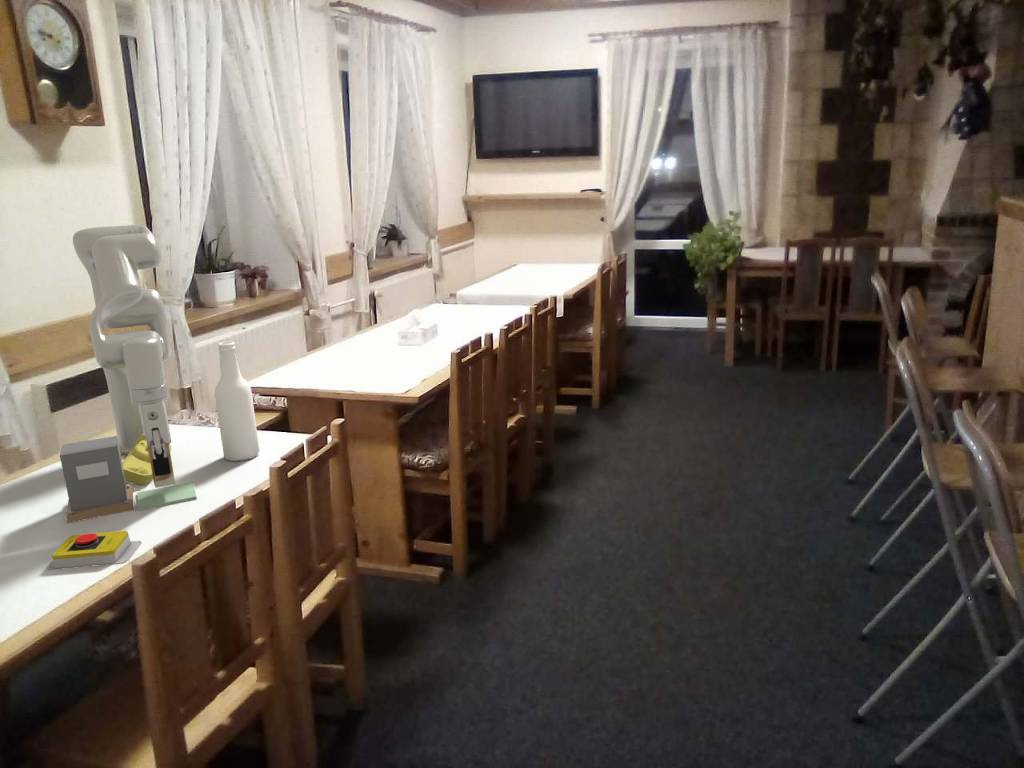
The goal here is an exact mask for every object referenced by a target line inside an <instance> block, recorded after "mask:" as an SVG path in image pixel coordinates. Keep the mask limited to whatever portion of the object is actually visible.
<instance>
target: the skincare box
mask: <svg viewBox="0 0 1024 768" xmlns="http://www.w3.org/2000/svg"><path fill="white" fill-rule="evenodd" d="M158 431H159V428H158ZM152 434H153V432H152ZM152 443H153V445H155V444H154V441H153V442H152ZM160 443H161V444H163V442H162V440H160ZM150 444H151V442H150ZM164 444H165V449H166V455H167V456H168V460H169V466H170V472H171V473H170V474H166V475H161V476H155V472H154V466H153V461H152V459H153V454H152V448H151V447H149V446H148V445H147V446H148V452H149V457H150V463H151V469H152V475H153V480H152V482H153V485H154V489H158V488H163V487H168V486H173V485H176V480H175V479H176V478H175V474H174V473H175V472H174V466H173V461H172V455H171V454H172V453H171V452H170V447H169V444H168V443H165V442H164ZM162 448H163V447H161V449H162ZM154 450H155V448H154ZM163 454H164V453H163ZM155 456H156V455H155Z"/></svg>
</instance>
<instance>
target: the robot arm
mask: <svg viewBox="0 0 1024 768" xmlns="http://www.w3.org/2000/svg"><path fill="white" fill-rule="evenodd" d="M72 244H73V248H74V251H75V253H76V255H77V257H78V259H79V261H80V262H81V264H82V266H84V268H85V270H86V271H87V274H88V276H89V279H90V283H91V287H92V293H93V299H94V304H95V307H94V309H93V311H92V313H91V316H90V318H89V325H88V326H89V327H88V331H89V337H90V341H91V345H92V349H93V353H94V357H95V360H96V363H97V364H98V365H99V366H100V367H101V368H102V369H103V373H104V375H105V380H106V383H107V387H108V388H107V389H108V393H109V399H110V404H111V410H112V415H113V420H114V421H113V422H114V426H115V430H116V436H117V437H118V443H119V448H120V453H121V456H122V455H123V456H124V455H125V456H127V455H128V454H129V453H130V451H131V450H132V448H133V447H134V445H135V444H136V442H137V440H138V439H139V437H140V436H141V435H142V434H145V438H146V441H147V445H148V446H149V447H151V448H152V454H153V459H152V461H153V466H154V472H155V476H161V475H166V474H170V473H171V472H170V466H169V460H168V456H167V455H166V449H165V444H164V442H165V443H168V444H170V445H171V443H172V437H171V431H170V425H169V419H168V413H167V408H166V404H165V400H168V399H169V392H168V386H167V381H166V375H165V369H164V363H166V362H168V361H169V360H170V359H171V356H172V347H171V341H170V334H169V326H168V322H167V315H166V310H165V306H164V305H165V304H164V301H163V298H162V296H161V295H160V293H159V292H158V291H157V290H156V289H154V288H143V287H142V282H141V280H140V276H139V272H138V270H139V271H140V270H146V269H147V270H148V269H155V268H158V267H159V266H160V265H161V262H162V261H161V260H162V255H161V248H160V245H159V243H158V240H157V238H156V236H155V235H154V234H153V232H152V231H150V229H149V228H148V227H147V226H146V225H143V224H131V225H130V224H129V225H127V224H126V225H117V226H116V225H115V226H97V227H89V228H84V229H80V230H77V231H76V232H75V233H74V234H73V236H72ZM143 326H146V327H148V328H147V329H140V330H139V329H138V330H130V331H129V330H128V331H121V332H115V333H111V334H108V335H105V333H104V328H105V329H109V330H110V329H111V330H113V329H114V330H115V329H116V330H118V329H126V328H127V329H128V328H133V327H143ZM158 428H159V431H158ZM152 432H153V434H152ZM160 440H162V442H163V444H161V443H160ZM153 441H154V444H155V445H153V443H152V442H153ZM150 442H151V444H150ZM161 447H163V448H162V449H161ZM154 448H155V450H154ZM163 453H164V454H163ZM155 455H156V456H155Z"/></svg>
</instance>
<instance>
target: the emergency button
mask: <svg viewBox="0 0 1024 768" xmlns="http://www.w3.org/2000/svg"><path fill="white" fill-rule="evenodd" d="M142 544H143V543H142V540H131V537H130V534H129V532H128V530H117V531H106V532H94V533H93V532H92V533H82V534H73V535H70V536H68V537H67V538H66V539H65V540H64V541H63V543H62V544H61V545H60V546H58V548H57V549H56V550H55V551H54V552H53V553H52V556H51V557H52V560H51V562H49V564H48V565H47V566H46V567H45V569H46V570H47V571H53V570H54V569H56V570H63V569H62V568H67V569H75V568H74V567H78V568H85V567H84V566H89V567H93V566H92V565H100V566H108V565H107V564H111V565H120V564H119V563H121V564H126V563H127V561H128V562H129V561H130V560H131V558H132V557H133V555H135V553H136V552H137V550H138V549H139V547H140V546H141V545H142ZM125 562H126V563H125ZM54 571H55V570H54Z"/></svg>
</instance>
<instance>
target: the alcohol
mask: <svg viewBox="0 0 1024 768" xmlns="http://www.w3.org/2000/svg"><path fill="white" fill-rule="evenodd" d="M235 344H236V343H235V342H234V341H231V340H230V341H221V342H219V343H218V344H217V346H218V348H217V349H218V351H219V362H220V363H219V365H220V377H219V378H220V380H219V381H218V383H217V385H216V386H215V390H214V398H215V404H216V405H215V406H216V410H217V419H218V426H219V432H220V433H219V434H220V439H221V445H222V452H223V457H224V458H225V459H226V460H227V461H229V460H230V461H229V462H243V460H245V461H249V460H252V459H254V458H256V457H257V456H258V455H259V453H260V444H259V437H258V431H257V429H258V428H257V422H256V421H257V420H256V417H255V409H254V401H253V399H254V398H253V394H252V392H253V391H252V388H251V385H250V383H249V382H248V381H247V380H246V378H245V379H244V378H243V376H242V374H241V370H240V366H239V362H238V358H237V354H236V346H235ZM255 456H256V457H255ZM253 457H254V458H253ZM251 458H252V459H251ZM248 459H249V460H248Z"/></svg>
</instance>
